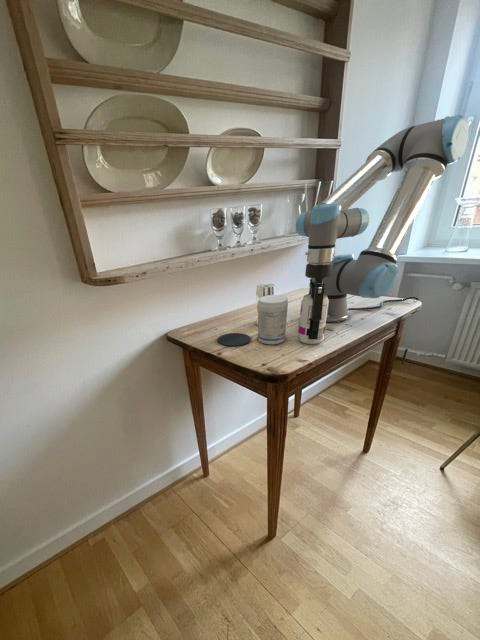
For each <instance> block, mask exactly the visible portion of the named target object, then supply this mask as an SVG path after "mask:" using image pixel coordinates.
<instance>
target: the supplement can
mask: <svg viewBox="0 0 480 640" xmlns="http://www.w3.org/2000/svg"><path fill="white" fill-rule="evenodd" d="M328 304H329V300H328V297H327V295H325V294H324V296H323V306H322V316H321V317H322V319H321V320H320V322H319V329H318V337H317V339H308V336H309V327H310V320H309V318H311V315H312V305H313V299H312V298H311V295H310V294H309V293H308V294H304V296H303V298H302V299H301V301H300V311H299V322H298V323H299V324H298V331H297V339H298V341H299V342H301V343H303V344H307V345H316V344H320V343H321V342H323V341H324V338H325V332H326V331H325V330H326V326H327V325H326V324H327V322H326V318H327V311H328Z"/></svg>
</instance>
